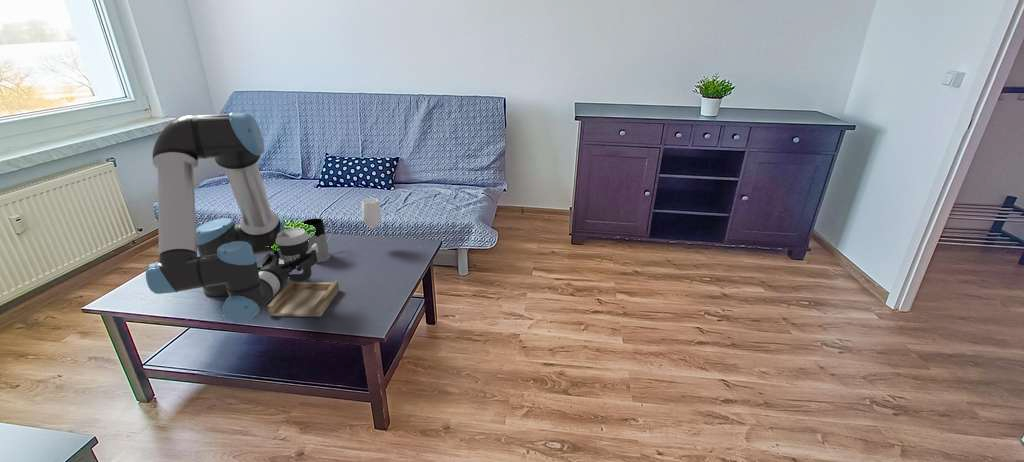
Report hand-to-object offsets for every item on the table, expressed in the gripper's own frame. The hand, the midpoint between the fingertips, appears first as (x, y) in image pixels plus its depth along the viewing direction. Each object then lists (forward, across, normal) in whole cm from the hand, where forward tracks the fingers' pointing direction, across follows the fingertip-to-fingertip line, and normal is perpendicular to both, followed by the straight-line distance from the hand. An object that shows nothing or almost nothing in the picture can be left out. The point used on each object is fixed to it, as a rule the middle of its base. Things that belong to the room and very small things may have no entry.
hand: (303, 247), depth 148 cm
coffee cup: (-5, 0, -8) cm, 10 cm away
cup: (+36, +11, -18) cm, 42 cm away
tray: (-5, 0, -18) cm, 18 cm away
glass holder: (+30, -8, -18) cm, 36 cm away
